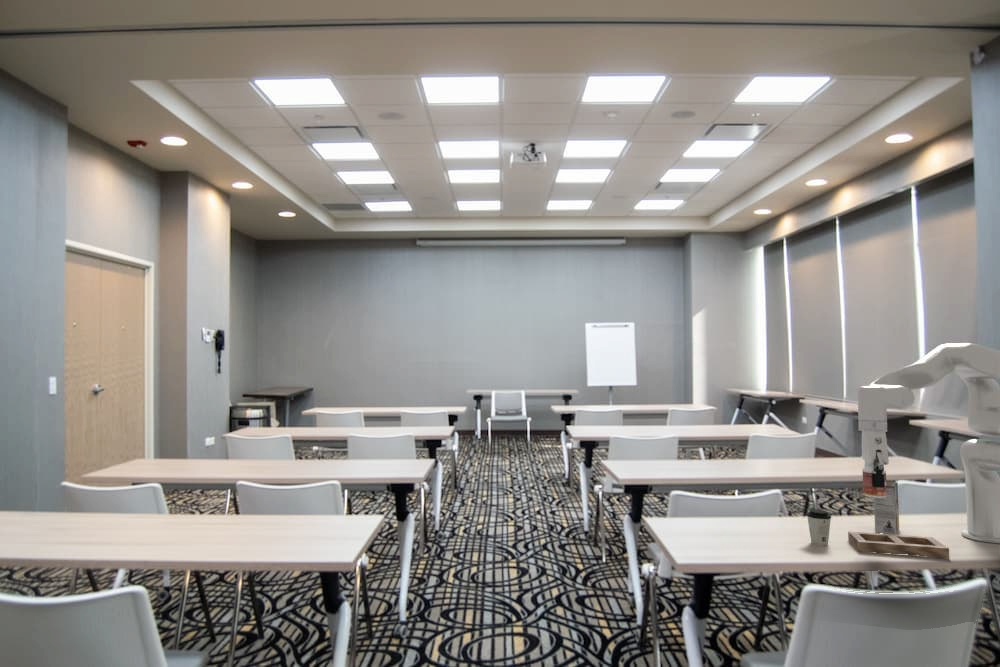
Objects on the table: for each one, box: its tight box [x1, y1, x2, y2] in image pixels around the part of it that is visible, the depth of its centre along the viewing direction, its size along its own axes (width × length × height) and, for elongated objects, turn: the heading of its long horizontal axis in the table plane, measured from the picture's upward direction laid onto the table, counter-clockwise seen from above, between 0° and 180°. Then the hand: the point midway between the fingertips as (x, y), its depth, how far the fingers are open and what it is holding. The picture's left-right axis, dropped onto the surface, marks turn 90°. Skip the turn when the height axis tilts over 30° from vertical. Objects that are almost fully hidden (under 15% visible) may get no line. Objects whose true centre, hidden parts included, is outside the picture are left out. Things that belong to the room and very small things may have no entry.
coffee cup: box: [806, 508, 832, 546], centre depth 188 cm, size 7×7×10 cm
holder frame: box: [847, 531, 950, 559], centre depth 182 cm, size 23×12×3 cm, turn 74°
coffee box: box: [873, 481, 900, 535], centre depth 203 cm, size 9×6×16 cm
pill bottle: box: [862, 459, 887, 499], centre depth 185 cm, size 6×6×11 cm
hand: (874, 484), depth 185 cm, fingers closed on pill bottle, 6 cm apart
